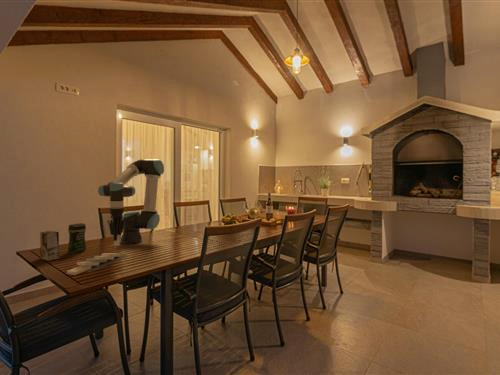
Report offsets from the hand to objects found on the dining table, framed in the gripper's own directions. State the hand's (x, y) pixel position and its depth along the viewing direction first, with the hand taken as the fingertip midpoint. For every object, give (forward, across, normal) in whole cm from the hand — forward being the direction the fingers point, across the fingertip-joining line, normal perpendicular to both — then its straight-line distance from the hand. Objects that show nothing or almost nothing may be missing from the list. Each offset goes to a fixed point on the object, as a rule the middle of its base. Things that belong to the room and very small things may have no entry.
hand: (116, 245), depth 163 cm
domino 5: (+6, 0, 0) cm, 6 cm away
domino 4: (+6, +5, 0) cm, 8 cm away
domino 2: (+6, +16, 0) cm, 18 cm away
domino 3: (+6, +11, 0) cm, 12 cm away
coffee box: (+8, +14, -36) cm, 39 cm away
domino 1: (+6, +22, 0) cm, 23 cm away
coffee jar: (+8, -2, -33) cm, 34 cm away
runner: (+7, +11, 0) cm, 14 cm away
